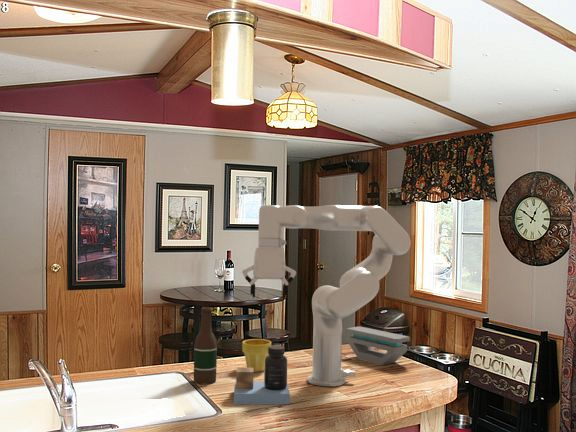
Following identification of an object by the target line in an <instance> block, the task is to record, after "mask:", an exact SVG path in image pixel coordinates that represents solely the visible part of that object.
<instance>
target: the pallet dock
mask: <svg viewBox="0 0 576 432" xmlns="http://www.w3.org/2000/svg"><path fill="white" fill-rule="evenodd" d="M290 395H291V393H290V389H289V385H288V383H287V387H286V388H285V389H283V390H269V389H266V388H265V386H264V381H253V389H236V381H234V390H233V405H290V401H291V400H290V399H291V397H290Z"/></svg>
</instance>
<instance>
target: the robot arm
mask: <svg viewBox="0 0 576 432" xmlns="http://www.w3.org/2000/svg"><path fill="white" fill-rule="evenodd" d="M258 210H259V211H258V238H257V239H258V240H257V241H258V243H257V245H258V247H255V250H254V258H253V265H251V266H248V267H247V268H245V269H243V270H242V274H243V276H244V277H243V278H245V280H246V282H248V284H249V285H250V295H252V298H256V284H255V283H256V282H257V280H281V282H282V283H283V284H282V293H281V294H282V295H281V296H282V298H283V299H285V298H286V296H287V295H288V285H289V284H291V282H292V281H294V279H295V277H296V275H297V271H296V270H294V269H293V268H291V267H288V266H287V265H286V256H285V255H286V254H285V249H284V247H283V246H284V245H287V240H286V239H285V240H284V239H283V228H285V229H295V230H296V229H313V230H314V229H315V230H322V231H338V232H339V231H344V232H347V231H349V232H351V231H353V232H373V233H374V236H373V239H372V241H371V242H372V243H371V244H372V246H371V250H370V253H369V255H368V256H367V257H366V258H365V259H364V260H363V261H360V262H359V263H358V264H356V265H355V266H353V267H352V268H350V269H349V270H348V271H346V272H344V273H343V274H342V275H341V277H340V279H339V287H336V286H333V285H322V286H319V287H318V288H317V289H316V290H315V291H314V293H312V294H313V295H312V298H311V309H312V316H313V317H312V319H313V334H312V335H313V336H312V371H311V374H310V375H308V376H307V382H308V383H309V384H311V385H314V386H319V387H339V386H343V385H344V384H345V383H347V380H346V377H350V378H356V376H357V375H356V374H357V373H356V371H355V370H350V369H344V368H343V367H342V352H343V351H342V345H343V343H342V342H343V321H342V320H343V319H345V318H347V317H349V316H352V315H353V314H355V312H357V311H358V310H359V309H361V308H363V307H364V306H366V305H367V304H368V303H369V302H371V301H372V300H374V298H375V297H376V296H377V295H378V293H379V290H380V280H381V279H383V278H384V277H385V276H386V275H387V274H388V273H389V271H390V270H391V267H392V263H393V262H392V261H393V257H394V256H402V255H405V254H406V253H407V252H408V251H410V248H411V244H412V243H411V237H410V235H409V233H408V232H407V231H406V230H405V229H404V228H403V226H401V224H400V223H398V222H397V220H396V219H395V218H394V217H393V216H392V215H391V214H390V213H389V212H388V211H387V210H385V209H384V208H383V207H381V206H378V205H345V204H344V205H341V204H330V205H329V204H328V205H320V206H319V205H317V206H315V205H314V206H301V205H297V204H295V205H293V204H291V205H284V206H282V205H281V206H280V205H275V204H273V205H272V204H265V205H264V204H263V205H260V207H259V209H258ZM252 271H253V277H252V278H251V277H250V276H249V274H248V273H250V272H252ZM286 272H288V273H290V275H289V277H288V278H287V279H286V277H285V276H286Z"/></svg>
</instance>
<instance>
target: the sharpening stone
mask: <svg viewBox="0 0 576 432" xmlns="http://www.w3.org/2000/svg"><path fill="white" fill-rule="evenodd" d="M345 332H346V333H347V334H348V333H349V334H352V335H353V336H348V337H347V344H348V345H349V346H350V348H351V349H352V351H353V353H354V355H355V356H356V358H357V359H358V360H360V361H362V362H363V361H364V362H366V363H367V362H368V363H371V364H375V365H379V366H385V365H389V364H394V363H396V362H397V361H398V360H399V359H400V358H401V357H402V356H403V355H404V354H406V353H407V352H408V344H403V343H406V342H407V343H408V342H410V341H411V337H410V336H408V335H403V334H398V333H393V332H388V331H384V330H380V329H376V328H375V329H374V328H370V327H365V326H360V325H359V326H354V327H347V328H345ZM373 348H374V349H373ZM375 349H379V350H375ZM381 350H383V351H381ZM385 351H386V352H385Z"/></svg>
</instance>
